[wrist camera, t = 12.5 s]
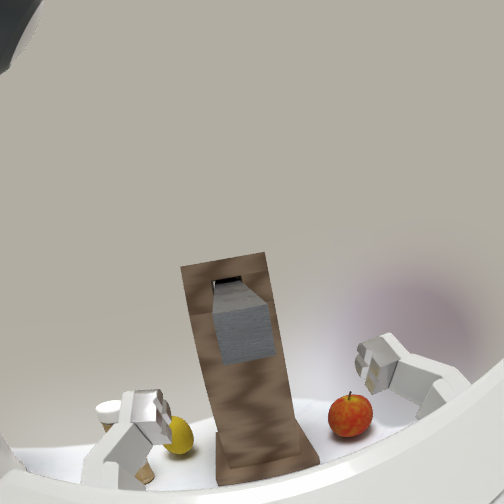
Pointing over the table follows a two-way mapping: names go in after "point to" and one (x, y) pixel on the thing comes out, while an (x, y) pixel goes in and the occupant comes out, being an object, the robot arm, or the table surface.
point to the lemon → (180, 436)
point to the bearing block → (245, 383)
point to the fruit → (350, 415)
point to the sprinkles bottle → (110, 416)
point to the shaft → (241, 323)
